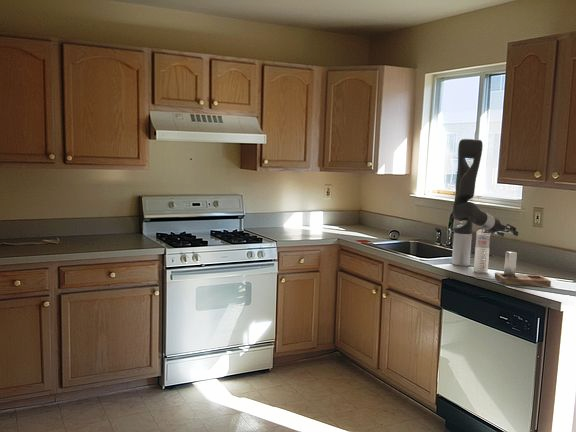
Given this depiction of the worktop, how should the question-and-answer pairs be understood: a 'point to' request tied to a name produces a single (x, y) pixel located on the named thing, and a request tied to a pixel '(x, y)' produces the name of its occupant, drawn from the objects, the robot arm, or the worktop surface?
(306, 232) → the worktop surface
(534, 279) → the wooden tray
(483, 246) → the water bottle
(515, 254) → the peg
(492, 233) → the robot arm
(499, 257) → the worktop surface
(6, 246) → the worktop surface
